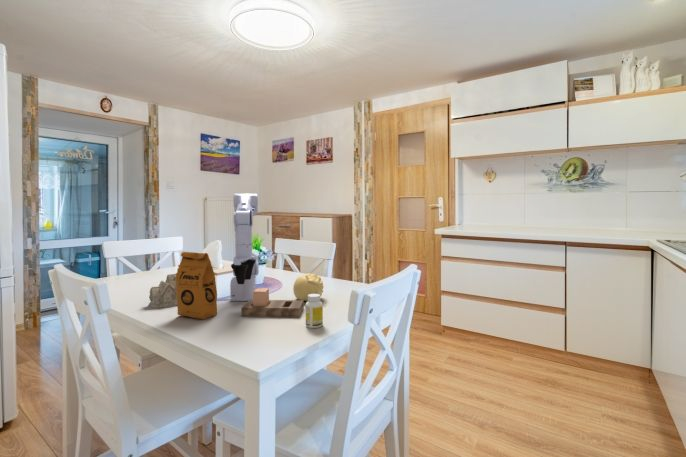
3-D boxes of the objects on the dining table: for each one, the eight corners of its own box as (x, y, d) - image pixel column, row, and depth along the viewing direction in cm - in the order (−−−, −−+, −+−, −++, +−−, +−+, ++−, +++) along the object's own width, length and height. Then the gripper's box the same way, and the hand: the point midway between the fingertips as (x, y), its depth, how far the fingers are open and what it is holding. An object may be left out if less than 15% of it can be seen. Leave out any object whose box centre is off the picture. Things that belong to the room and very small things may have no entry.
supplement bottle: (325, 323, 114) (325, 293, 113) (318, 329, 109) (318, 298, 108) (309, 321, 116) (309, 292, 115) (302, 327, 111) (302, 296, 110)
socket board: (241, 316, 121) (241, 307, 121) (249, 307, 131) (249, 299, 131) (299, 317, 120) (299, 308, 120) (303, 308, 130) (303, 300, 130)
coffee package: (200, 322, 115) (198, 255, 113) (172, 317, 120) (170, 252, 118) (222, 313, 124) (221, 251, 122) (196, 309, 129) (194, 249, 127)
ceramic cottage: (187, 293, 150) (184, 259, 148) (196, 304, 137) (192, 266, 135) (145, 301, 142) (141, 265, 140) (150, 313, 128) (146, 273, 126)
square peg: (253, 313, 124) (252, 291, 123) (256, 310, 128) (256, 288, 128) (265, 314, 124) (265, 291, 123) (269, 310, 128) (268, 288, 128)
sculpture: (322, 303, 137) (322, 276, 136) (291, 303, 137) (291, 276, 136) (324, 296, 148) (324, 270, 147) (295, 295, 148) (295, 270, 147)
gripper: (248, 246, 119) (249, 286, 120) (260, 242, 134) (260, 277, 135) (227, 246, 119) (228, 286, 120) (241, 241, 134) (242, 277, 135)
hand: (244, 281), depth 127 cm, fingers open, 7 cm apart
